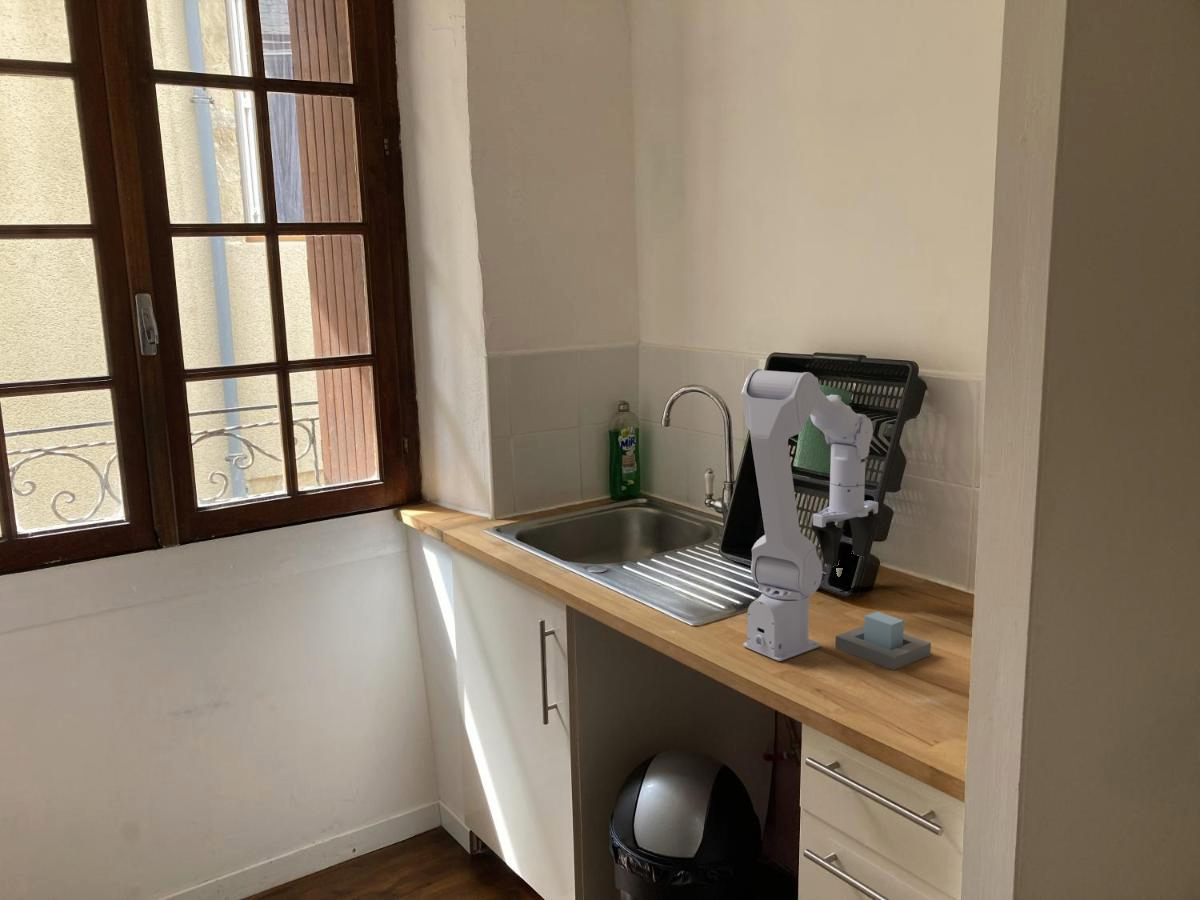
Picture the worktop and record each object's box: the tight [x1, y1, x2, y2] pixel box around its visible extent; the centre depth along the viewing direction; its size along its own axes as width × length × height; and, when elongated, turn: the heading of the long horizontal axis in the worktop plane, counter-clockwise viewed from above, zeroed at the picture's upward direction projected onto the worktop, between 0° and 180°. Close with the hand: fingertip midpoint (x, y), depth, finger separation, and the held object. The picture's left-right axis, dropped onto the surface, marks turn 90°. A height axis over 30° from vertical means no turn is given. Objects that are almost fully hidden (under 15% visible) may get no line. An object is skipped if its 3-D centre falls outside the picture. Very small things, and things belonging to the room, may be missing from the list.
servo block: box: [863, 611, 905, 650], centre depth 154 cm, size 3×5×5 cm, turn 37°
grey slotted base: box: [834, 625, 932, 671], centre depth 154 cm, size 9×11×2 cm
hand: (844, 559), depth 171 cm, fingers open, 7 cm apart
